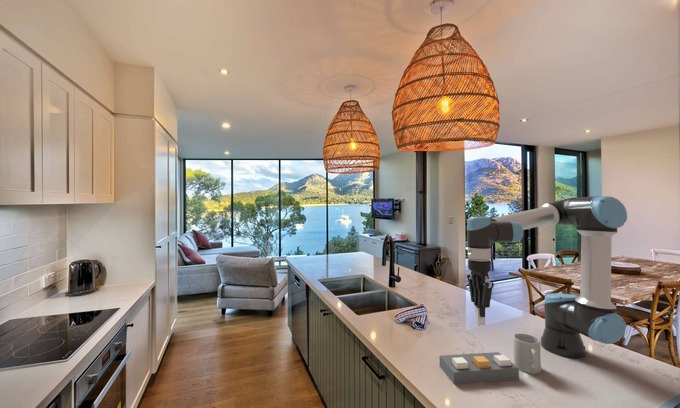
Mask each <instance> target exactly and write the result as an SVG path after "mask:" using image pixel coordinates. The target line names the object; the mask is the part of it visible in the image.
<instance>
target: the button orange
mask: <svg viewBox="0 0 680 408" xmlns="http://www.w3.org/2000/svg"><path fill="white" fill-rule="evenodd" d="M473 364H474V365H475V366H476V367H477V368H478V369H485V368H490V364H489V360H487V359H486V358H485V357H484V356H474V357H473Z"/></svg>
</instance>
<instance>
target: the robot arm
mask: <svg viewBox="0 0 680 408" xmlns="http://www.w3.org/2000/svg"><path fill="white" fill-rule="evenodd" d="M627 220H628V212H627V208H626V206H625V205H624V204H623V202H621V201H620V200H619V199H618V198H615V197H613V196H607V195H605V196H603V195H596V196H581V197H579V196H576V197H569V198H564V199H560V200H557V201H553V202H549V203H544V204H542V205H541V206H540V207H538V208H537V207H536V208H533V209H528V210H524V211H519V212H515V213H508V214H506V215H505V214H504V215H500V216H496V217H495V216H494V217H491V218H490V217H488V216H470V217H468V219H467V222H466V223H467V224H466V231H467V232H466V233H467V236H466V237H467V257H468V259H467V268H468V270H469V271H470V274H467V275H466V277H467V281H468V286H469V287H468V288H469V293H470V295H469V296H470V300H471V301H470V302H471V303H473V305H474V306H475V307H474V309H475V311H474V312H475V325H476V326H479V327H480V326H481V327H483V326H486V309H489V308H490V306H491V299H492V293H493V292H492V290H493V288H494V287H495V284H494V282H492V281H490V277H489V272H491V270H492V261H491V259H492V246H491V245H492V244H493V243H517V242H520V241H521V240H522V239H523V236H524V230H529V229H533V228H538V227H542V226H550V227H553V226H554V227H555V226H562V225H563V226H564V225H565V226H576V227H575V228H576V229H575V230H576V232H578V234H579V235H580V237H581V238H580V240H581V241H580V283H579V285H580V287H579V288H580V294H579V296H577V295H575V294H569V293H553V292H552V293H547V294H545V296H544V302H543V305H544V330H543V333H542V335H541V337H540V346H541V347H542V348H544V349H545V350H546V351H548V352H551V353H552V354H556V355H558V356H562V357H566V358H572V359H574V358H575V359H577V358H579V359H580V358H584V357H586V356H587V350H586V346H585V345H584V341H583V339H582V336H581V335H583V336H585V337H587V338H589V339H590V340H592V341H595V342H599V343H601V344H605V345H611V344H615V343H617V342H619V340H620V339H622V338H623V336H624V334H625V332H626V328H627V327H626V326H627V325H626V321H625V320H624V318H623V317H622V316H621V315H620V314H618V313H617V305H615V304H614V303H613V302H612V301H611V299H612V295H611V293H612V239H613V236H615V235H616V234H618V229H619V228H622V227H623V226H624V225H625V223H627Z"/></svg>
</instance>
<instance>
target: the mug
mask: <svg viewBox="0 0 680 408" xmlns="http://www.w3.org/2000/svg"><path fill="white" fill-rule="evenodd" d="M541 359H542V357H541V339H539V338H538V337H535V336H533V335H532V334H531V335H530V334H526V333H515V334H514V335H513V364H514V365H516V366H517V367H518V368H519V371H521V372H523V373H527V374H530V375H531V374H532V375H535V374H536V375H537V374H540V373H541V371H542V362H541Z"/></svg>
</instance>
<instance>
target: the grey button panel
mask: <svg viewBox="0 0 680 408" xmlns="http://www.w3.org/2000/svg"><path fill="white" fill-rule="evenodd" d="M474 356H484V357H485V358H486V359H487V360H489V364H490V368H485V369H478V368H477V367H476V366H475V365H474V364H473V357H474ZM438 359H439V367H440V369H441V370H442V371H443V372H444V373H445V374H446V376H447V377H448V379H449V380H450V381H451V382H452V384H454V385H458V384H460V385H461V384H475V383H487V382H502V381H503V382H504V381H518V380H520V370H519V368H518V367H517V366H516V365H514V362H511V359H510V358H509V357H507V355H505V354H502V353H500V352H498V351H496V352H495V351H494V352H482V353H481V352H480V353H479V352H478V353H462V354H445V355H444V354H443V355H439V358H438Z"/></svg>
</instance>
